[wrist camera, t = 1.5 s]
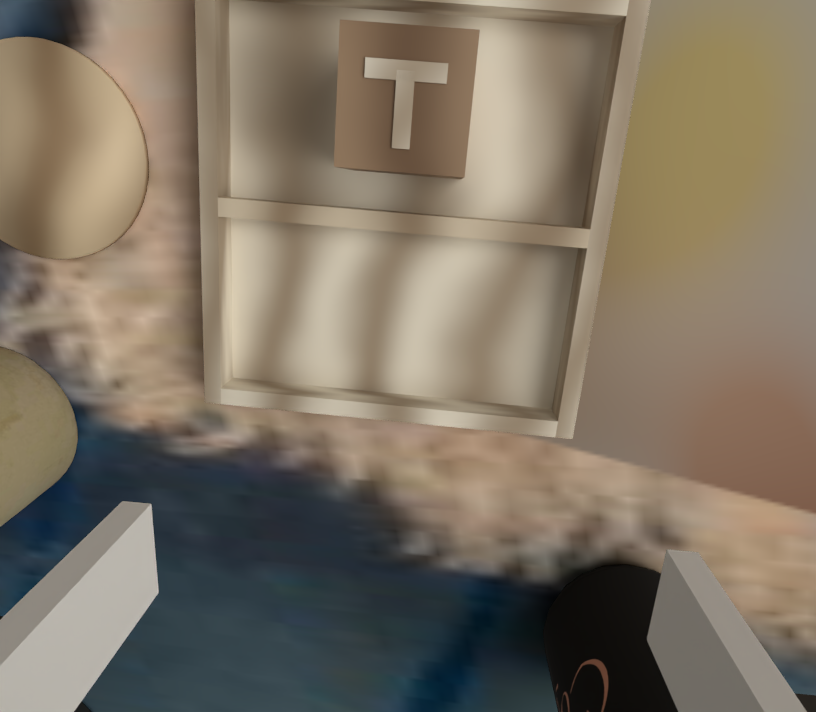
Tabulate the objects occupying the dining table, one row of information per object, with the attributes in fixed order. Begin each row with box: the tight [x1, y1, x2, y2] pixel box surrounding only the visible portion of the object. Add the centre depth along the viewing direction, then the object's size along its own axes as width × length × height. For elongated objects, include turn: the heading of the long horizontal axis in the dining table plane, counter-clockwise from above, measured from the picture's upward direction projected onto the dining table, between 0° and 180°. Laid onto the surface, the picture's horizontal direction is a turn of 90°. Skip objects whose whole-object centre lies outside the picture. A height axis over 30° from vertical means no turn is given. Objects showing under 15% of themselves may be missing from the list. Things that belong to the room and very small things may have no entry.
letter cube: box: [334, 19, 480, 179], centre depth 28 cm, size 6×6×6 cm
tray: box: [195, 0, 651, 439], centre depth 32 cm, size 22×23×2 cm
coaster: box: [0, 37, 149, 259], centre depth 33 cm, size 12×12×1 cm
